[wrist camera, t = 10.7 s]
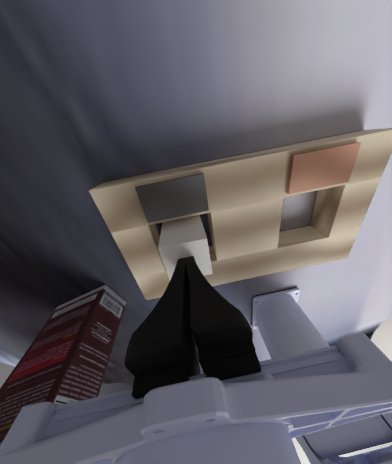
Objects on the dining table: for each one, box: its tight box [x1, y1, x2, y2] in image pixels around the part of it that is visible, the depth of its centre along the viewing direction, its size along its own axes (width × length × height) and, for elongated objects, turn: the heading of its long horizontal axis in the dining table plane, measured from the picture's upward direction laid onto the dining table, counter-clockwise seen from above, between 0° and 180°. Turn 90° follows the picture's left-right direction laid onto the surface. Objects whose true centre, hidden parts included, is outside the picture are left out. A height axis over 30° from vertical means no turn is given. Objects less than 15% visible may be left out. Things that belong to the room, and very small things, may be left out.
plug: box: [158, 215, 213, 280], centre depth 16 cm, size 4×4×6 cm
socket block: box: [89, 128, 392, 300], centre depth 17 cm, size 14×26×3 cm, turn 100°
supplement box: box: [0, 285, 126, 445], centre depth 16 cm, size 9×5×16 cm, turn 115°
